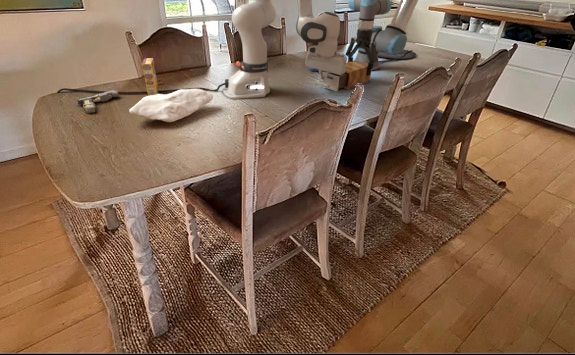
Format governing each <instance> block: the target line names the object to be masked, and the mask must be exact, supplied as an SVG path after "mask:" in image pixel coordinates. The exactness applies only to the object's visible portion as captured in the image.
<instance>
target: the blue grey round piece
mask: <svg viewBox="0 0 575 355" xmlns="http://www.w3.org/2000/svg"><path fill="white" fill-rule="evenodd" d="M408 51H409V50H408V49H405V48H404V49H403V51H402V52H401V53H400V54H398V55H388V54H385V53H381V52H378V57H380V58H386V59H397V58H399V60H404V59H405V60H406V59H412V58H415V57H416V56H417V54H416V52H414V51H412V52H409V53H407V54H406V55H405V56H404V57H402V56H403V55H404V54H405V53H406V52H408ZM400 57H402V58H400Z"/></svg>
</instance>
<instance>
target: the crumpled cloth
mask: <svg viewBox="0 0 575 355" xmlns="http://www.w3.org/2000/svg"><path fill="white" fill-rule="evenodd" d="M180 89H181V90H177V91H172V92H171V93H167V94H163V93H158V94H156V95H150V96H148V95H146V96H144V97H142V98H141V99H140V100H139V101H138V102H137V103H136V104H134V105H133V106H132V107H131V108H129V114H130V115H135V116H140V117H145V118H146V119H149V120H152V121H155V120H158V121H163V122H166V123H174V122H176V121H178V120H181V119H183V118H185V117H188V116H190V115H192V114H193V113H195V112H196V111H197V110H199V109H200V108H202V107H204V106H206V105H207V104H210V102H211V101H212V100H213V99H214V98H213V97H214V96H213V94H212V93H210V92H209V91H207V90H202V89H186V88H180Z"/></svg>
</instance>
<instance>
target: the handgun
mask: <svg viewBox="0 0 575 355" xmlns="http://www.w3.org/2000/svg"><path fill="white" fill-rule="evenodd" d="M107 91H108V92H104V93H96V94H94V95H86V94H85V95H84V94H83V95H81V96H80V97H77V98H76V101H77V104H78V105H82V108H83V109H84V110H85V113H87V114H91V113H95V112H96V104H95V103H98V102H106V101H109V100H111V99H113V98H117V97H119V96H120V94H118V92H119V91H117V90H116V89H112V90H107Z"/></svg>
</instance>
